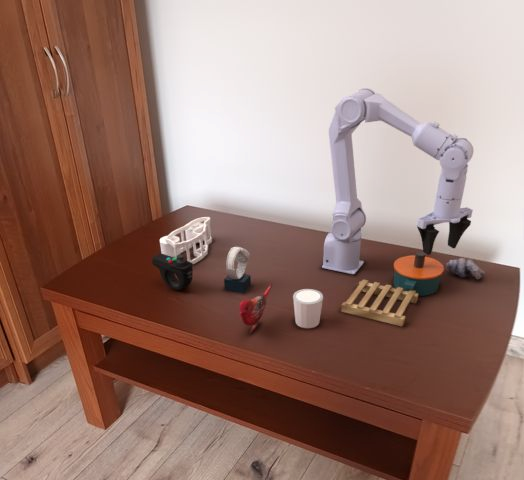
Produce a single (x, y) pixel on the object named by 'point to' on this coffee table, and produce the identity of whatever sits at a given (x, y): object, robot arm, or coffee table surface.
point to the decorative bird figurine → (253, 309)
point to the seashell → (464, 268)
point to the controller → (174, 270)
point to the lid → (418, 266)
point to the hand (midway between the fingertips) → (439, 249)
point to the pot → (416, 284)
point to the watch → (237, 278)
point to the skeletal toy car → (188, 240)
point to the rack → (382, 292)
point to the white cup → (307, 307)
